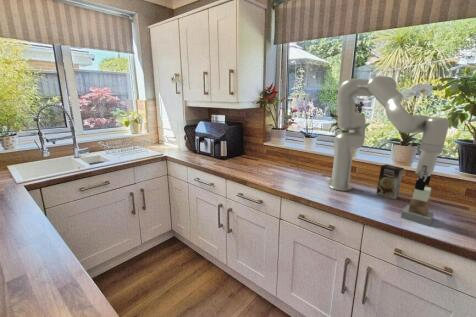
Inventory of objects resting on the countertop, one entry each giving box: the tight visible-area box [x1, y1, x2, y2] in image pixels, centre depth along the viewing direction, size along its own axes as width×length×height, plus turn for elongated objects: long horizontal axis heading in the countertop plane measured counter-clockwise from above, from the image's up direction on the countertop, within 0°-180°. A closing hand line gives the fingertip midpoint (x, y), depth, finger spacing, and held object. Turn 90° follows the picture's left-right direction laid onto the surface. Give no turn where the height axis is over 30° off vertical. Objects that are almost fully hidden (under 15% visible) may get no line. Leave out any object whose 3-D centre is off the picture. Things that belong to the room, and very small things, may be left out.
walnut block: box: [409, 196, 431, 216], centre depth 109 cm, size 6×6×6 cm
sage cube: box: [412, 186, 432, 202], centre depth 108 cm, size 5×5×5 cm
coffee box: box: [375, 164, 405, 200], centre depth 134 cm, size 9×6×16 cm
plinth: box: [400, 204, 435, 227], centre depth 110 cm, size 10×10×3 cm
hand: (421, 186), depth 108 cm, fingers open, 9 cm apart
